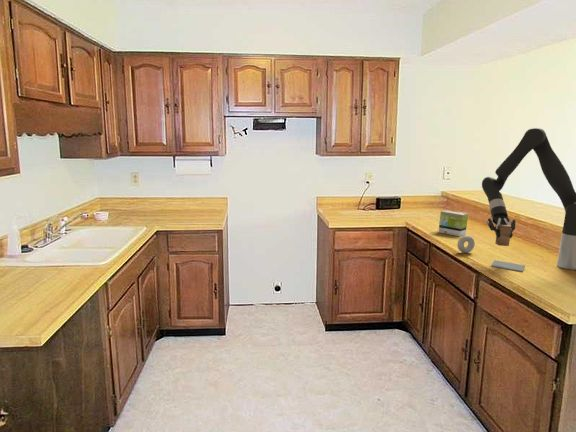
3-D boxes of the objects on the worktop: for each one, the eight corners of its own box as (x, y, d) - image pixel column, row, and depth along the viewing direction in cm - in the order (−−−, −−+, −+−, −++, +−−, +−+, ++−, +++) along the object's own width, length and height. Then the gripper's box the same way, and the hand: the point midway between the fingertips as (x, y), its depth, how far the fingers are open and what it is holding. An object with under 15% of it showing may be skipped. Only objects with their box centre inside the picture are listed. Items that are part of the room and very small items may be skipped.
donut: (471, 252, 242) (473, 234, 241) (475, 253, 239) (477, 236, 237) (455, 252, 240) (457, 234, 239) (458, 254, 237) (460, 236, 235)
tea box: (437, 232, 291) (440, 211, 289) (444, 230, 299) (446, 209, 296) (460, 236, 281) (462, 214, 279) (466, 234, 289) (468, 212, 286)
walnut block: (495, 243, 221) (497, 224, 219) (505, 244, 221) (508, 224, 219) (498, 245, 217) (501, 226, 215) (508, 246, 217) (511, 226, 215)
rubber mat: (524, 266, 218) (525, 265, 217) (522, 272, 208) (522, 270, 208) (494, 261, 225) (494, 260, 225) (490, 266, 215) (490, 265, 215)
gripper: (486, 204, 223) (493, 232, 213) (515, 206, 222) (522, 234, 213) (481, 212, 229) (487, 240, 220) (509, 214, 229) (516, 242, 219)
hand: (504, 237), depth 216 cm, fingers closed on walnut block, 5 cm apart
